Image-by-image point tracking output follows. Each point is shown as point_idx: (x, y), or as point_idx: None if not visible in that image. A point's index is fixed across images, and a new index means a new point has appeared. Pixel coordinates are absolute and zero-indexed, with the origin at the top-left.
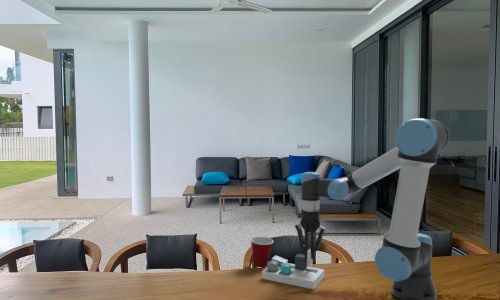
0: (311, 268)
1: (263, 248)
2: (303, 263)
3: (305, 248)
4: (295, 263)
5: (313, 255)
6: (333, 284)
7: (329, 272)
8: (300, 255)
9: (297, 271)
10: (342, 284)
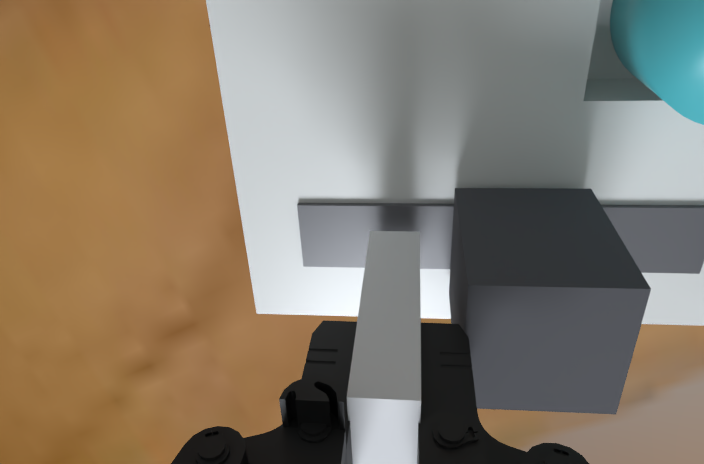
0: None
1: None
2: (470, 232)
3: (466, 446)
4: (603, 222)
5: (313, 364)
6: (116, 138)
7: (277, 368)
8: (562, 360)
9: (534, 129)
10: (51, 178)
